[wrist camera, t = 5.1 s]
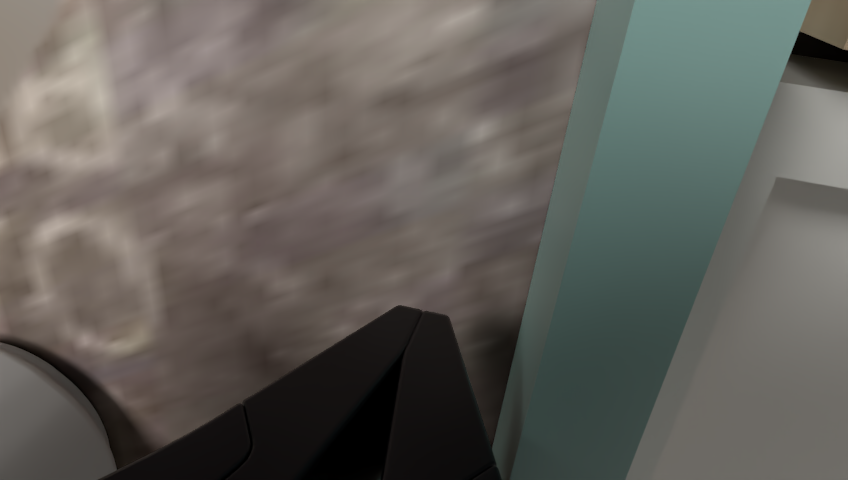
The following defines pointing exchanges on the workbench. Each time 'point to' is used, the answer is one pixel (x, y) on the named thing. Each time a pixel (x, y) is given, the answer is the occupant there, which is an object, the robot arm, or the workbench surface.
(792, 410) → the tray
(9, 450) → the beverage can
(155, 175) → the workbench surface
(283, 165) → the workbench surface
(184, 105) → the workbench surface
